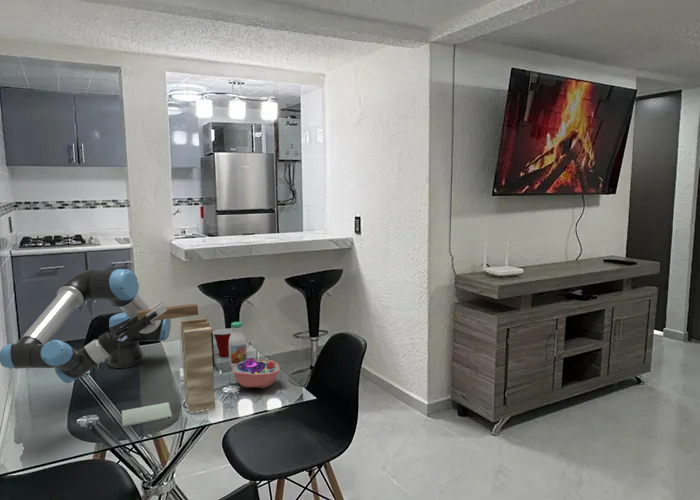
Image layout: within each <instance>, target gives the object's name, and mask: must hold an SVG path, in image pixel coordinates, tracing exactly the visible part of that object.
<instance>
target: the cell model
mask: <svg viewBox="0 0 700 500" xmlns="http://www.w3.org/2000/svg"><path fill="white" fill-rule="evenodd" d="M280 369H281V367H280V365H279V363H278V362H275V361H274V360H271V359H255V358H253V357H247V359H246V360H245V361H241V362H239V363H237V364H236V365H234V366H233V369H231V370H232V372H233V375H234V377H235V380H236V381H237V382H238V384H239V385H240V386H242V387H244V388H248V389H249V388H250V389H251V388H259V389H266V388H268V387H270V386H271V385H272V384H274V383H275V382H276V380H277V378H278V375H279V373H280V371H281V370H280Z"/></svg>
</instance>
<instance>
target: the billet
mask: <svg viewBox="0 0 700 500" xmlns="http://www.w3.org/2000/svg"><path fill="white" fill-rule="evenodd" d="M165 308H166V309H167V311H166V312H164V313H163V314H161V315H160V316H158V317H157V318H155V319H154V320H152V321H157V320H164V319H170V320H171V319H177V318H186V317H193V316H199V305H198V304H197V303H188V304H181V305H172V306H165ZM154 309H156V308H154ZM154 309H146V310H138V311H137V318H138V321H139V320H141V319H142V318H144V317H147V316H146V315H147V314H148V313H150V312H151V311H153V310H154Z"/></svg>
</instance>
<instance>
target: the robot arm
mask: <svg viewBox="0 0 700 500" xmlns="http://www.w3.org/2000/svg"><path fill="white" fill-rule="evenodd" d="M139 285H140V284H139V280H138V277H137V274H136V273H135V272H133V271H132V270H130V269H124V268H117V269H88V270H83V271H80V272H79V273H77V274H75V275H73V276H71V277H70V278H69V279H68V280H66V282H64V283H62V285H61V286H60V287H59V288H58V290H57V292H56V296H55V297H54V299H53V300H52V301H51V302H50V303H49V305H48V306H47V307H46V308H45V309H44V310H43V312H42V313H41V314H40V315H39V316H38V317H37V319H36V320H35V321H34V322H33V323H32V324H31V326H30V327H29V328H28V329H27V330H26V332H25V333H24V334H23V335H22V336H21V338H20V339H19V340H18V341H17V342H16V343H9V344H6V345H4V346H2V348H1V349H0V364H1V366H2V367H3V368H6V369H15V370H16V369H17V370H18V369H54V372H55V374H56V375H57V376H58V378H59V379H60V381H62V382H63V383H65V384H71V383H73V382H74V381H76V380H78V379H80V378H82V376H84V375H85V374H86V373H88V372H89V371H91V370H92V369H94V368H95V367H97V366H98V365H99V364H100V363H101V362H102V363H105V361H106V360H107V364H109V365H110V366H111V367H115V368H114V369H116V368H122V369H128V367H129V368H133V367H137V366H139V365H141V364H143V363H144V362H145V355H144V353H143V350H142V348H141V347H140V342H162V341H163V342H164V341H167V340H168V338H169V336H170V334H171V326H172V322H171V319H164V320H157V321H152V320H154V319H155V318H157V317H158V316H160V315H161V314H163V313H164V312H166V311H167V309H166V308H165V307H166V306H165V304H164V303H163V302H162V301H160V302H157V303H156V304H155V305H154V306H152V307H150V306H149V305H148V304H147V303H146V302H145V300H143V298H142V296H141V295H140V294H139V293H138V292H139V289H140V288H139ZM88 301H107V303H109V304H110V306H113V307H116V308H119V309H120V310H122V312H120V313H119V312H118V313H115V314H114V315H112V316H111V317H110V318H109V319H108V320H109V321H108V323H109V324H108V328H109V331H105V332H104V333H102V334H101V335H99V336H98V337H97V339H96V338H94V339H93V340H91V341H90V342H89V343H87V344H86V345H84V346H83V347H81V348H80V349H79V350H77V349H76V348H74V347H73V346H71V345H70V344H69V343H68V342H67V343H66V342H65V341H63V340H60V339H52V338H53V337H54V336H55V335H56V333H57V332H58V331H59V330H60V328H61V327H62V326H63V325H64V324H65V322H66V321H67V320H68V318H69V317H70V316H71V315H72V314H73V312H74V311H75V309H76V308H79V307H81V306H82V305H83V304H84V303H85V302H88ZM154 308H156V309H154ZM146 309H154V310H153V311H151V312H150V313H148V314H147V315H146V316H147V317H144V318H142V319H141V320H139V321H138V318H137V311H138V310H146ZM111 367H110V368H111Z"/></svg>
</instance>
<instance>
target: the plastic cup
mask: <svg viewBox="0 0 700 500" xmlns="http://www.w3.org/2000/svg"><path fill="white" fill-rule="evenodd" d="M231 332H232V328H222V329H216V330H214V331H212V333H213V337H214V339H215V342H216V347H217V351H218V353H219V356H220V357H222V358H227V357H228V358H229V337H230V335H231Z"/></svg>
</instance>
